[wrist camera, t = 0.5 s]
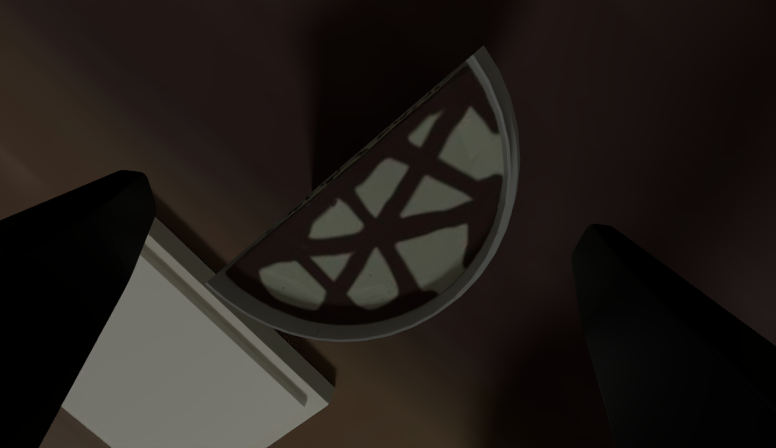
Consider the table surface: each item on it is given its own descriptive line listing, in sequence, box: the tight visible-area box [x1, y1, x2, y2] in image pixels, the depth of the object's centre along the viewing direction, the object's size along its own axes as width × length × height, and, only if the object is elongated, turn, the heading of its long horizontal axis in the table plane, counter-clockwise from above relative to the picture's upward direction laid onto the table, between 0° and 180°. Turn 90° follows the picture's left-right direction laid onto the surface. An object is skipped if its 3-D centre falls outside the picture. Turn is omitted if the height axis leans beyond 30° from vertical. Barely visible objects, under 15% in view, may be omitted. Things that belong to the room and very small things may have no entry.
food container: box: [205, 46, 520, 342], centre depth 18 cm, size 12×6×10 cm, turn 130°
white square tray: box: [61, 217, 335, 448], centre depth 28 cm, size 16×16×2 cm
